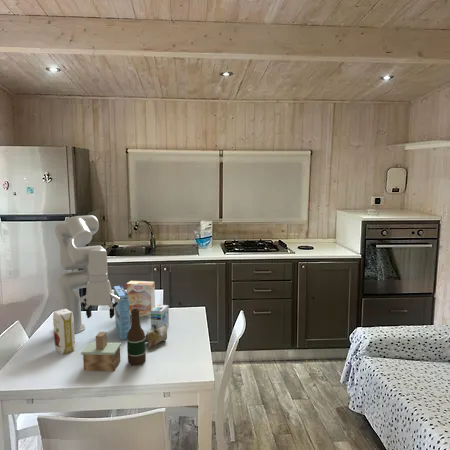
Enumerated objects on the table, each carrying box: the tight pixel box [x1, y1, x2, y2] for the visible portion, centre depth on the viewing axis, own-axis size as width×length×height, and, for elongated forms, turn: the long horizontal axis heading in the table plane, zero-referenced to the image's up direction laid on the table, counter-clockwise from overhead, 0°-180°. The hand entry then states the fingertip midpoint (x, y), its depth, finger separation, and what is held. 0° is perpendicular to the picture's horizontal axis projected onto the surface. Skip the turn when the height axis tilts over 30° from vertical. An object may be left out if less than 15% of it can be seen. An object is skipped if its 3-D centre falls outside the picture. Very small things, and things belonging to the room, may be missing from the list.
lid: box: [80, 331, 122, 356], centre depth 175 cm, size 14×10×8 cm
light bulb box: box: [150, 304, 170, 330], centre depth 220 cm, size 11×7×11 cm, turn 168°
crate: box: [82, 346, 121, 372], centre depth 176 cm, size 13×9×8 cm
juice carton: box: [52, 308, 76, 355], centre depth 191 cm, size 8×9×19 cm
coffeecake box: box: [125, 280, 156, 317], centre depth 239 cm, size 15×7×20 cm, turn 81°
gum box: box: [113, 285, 131, 341], centre depth 211 cm, size 20×5×23 cm, turn 23°
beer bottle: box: [126, 309, 147, 367], centre depth 178 cm, size 8×8×24 cm
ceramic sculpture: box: [145, 325, 168, 348], centre depth 199 cm, size 11×9×15 cm
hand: (100, 317), depth 173 cm, fingers open, 9 cm apart
